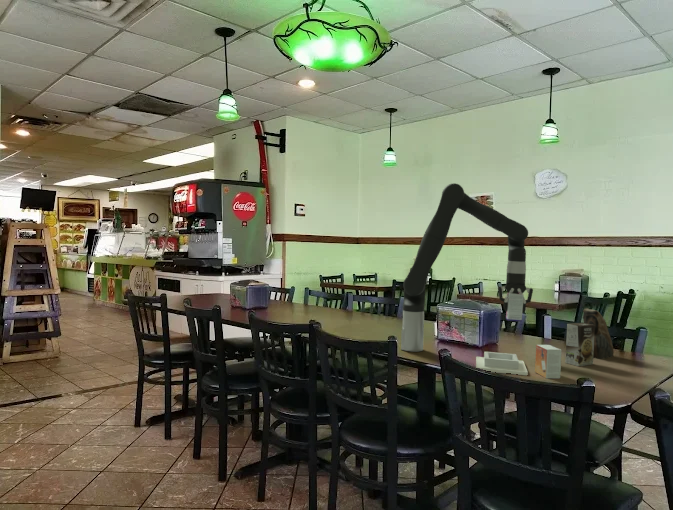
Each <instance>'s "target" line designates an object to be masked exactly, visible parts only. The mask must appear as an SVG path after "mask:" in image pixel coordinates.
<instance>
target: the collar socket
mask: <svg viewBox="0 0 673 510" xmlns="http://www.w3.org/2000/svg"><path fill="white" fill-rule="evenodd" d="M483 352H484V353H483V356H476V357H475V359H476V360H475V369H476V368H480V369H483V370H486V371H491V372H490V373H495V372H496V373H497V374H506V373H511V374H510V375H516V374H518V375H517V376H519V375H520V376H527V375H529V372H528V369H527V367H526V365H525V362H524V360H519V358H518V356H517V354H516V353H505V352H493V351H483Z"/></svg>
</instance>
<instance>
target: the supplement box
mask: <svg viewBox="0 0 673 510" xmlns="http://www.w3.org/2000/svg"><path fill="white" fill-rule="evenodd" d="M523 296H524V293H523V294H513V293H509V298H508V301H507V311H505V312H506V313H505V314H506V315H505V319H506V320H507V321H509V322H522V321H523V313H522V311H523Z"/></svg>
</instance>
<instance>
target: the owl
mask: <svg viewBox="0 0 673 510" xmlns="http://www.w3.org/2000/svg"><path fill="white" fill-rule="evenodd" d="M582 312H583V316H582V320H583V323H586V324H593V325H595V330H594V353H593V359H599V360H602V359H607V358H612V357H614V346H613V345H614V344H613V341H612V337H611V335H610V332H609V328H608V326H607V321H606V320H605V318H604V317H603V315H602V314H601V313H600V311H598V310H595V309H592V308H591V309H590V308H588V307H586V308H584V309H583V310H582Z"/></svg>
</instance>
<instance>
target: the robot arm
mask: <svg viewBox="0 0 673 510" xmlns="http://www.w3.org/2000/svg"><path fill="white" fill-rule="evenodd" d="M439 200H440V201H439V204H438V207H437V210H436V211H435V214H434V215H433V217H432V219H431V221H430V222H429V224H428V225H427V228H426V230H425V231H424V233H423V236H422V239H421V241H420V244H419V247H418V250H417V254H416V256H415V259H414V263H413V264H412V266H411V268H410V270H409V272H408V274H407V275H406V277H405V279H404V281H403V284H402V285H403V286H402V287H403V290H404V291H403V304H402V327H401V339H400V341H401V343H400V344H401V345H400V350H402V351H407V352H417V353H418V352H422V351H423V350H424V334H425V333H424V332H425V331H424V330H425V329H424V328H425V305H426V304H425V303H426V283H427V279H428V276H429V273H430V270H431V268H432V266H433V265H434V263H435V262H436V260H437V258H438V257H439V255H440V253H441V251H442V248H443V246H444V244H445V242H446V239H447V236H448V233H449V231H450V227H451V223H452V221H453V218H454V216H455V214H456V212H457V210H458V209H459V210H461V211H463V212H465V213H468V215H471V216H472V217H474V218H475V219H477V220H479V221H481V222H482V223H483V224H485V225H487V226H488V227H490V228H492V229H493V230H495V231H498V232H501V233H503V234H505V235H506V236H507V244H508V247H507V248H508V252H507V255H508V256H507V264H506V278H505V279H506V280H505V281H506V282H505V285H504V286H501V285H500V286H498V287H497V289H498V298H499V300H500V301H501V302H502V303H503V310H504V311H505V312H506V311H507V301H508V298H509V293H513V294H523V311H522V314H524V312H526V311H527V310H526V309H527V307H526V305H527V304H528V303H531V302H532V297H533V291H534V290H533V288H532V287H526V274H527V263H526V262H527V261H526V259H527V250H526V248H525V240H526V239H528V236H529V230H528V228H527V227H526V226H525V225H524V224H521V223H520V222H518V221H516V220H514V219H511V218H509V217H507V216H506V215H505V214H503V213H501V212H500V211H497V209H494V208H492V207H491V206H488V205H485V204H483V203H481V202H479V201H477V200H475V199H474V198H472V197H471V196H470V195H468V194H466V192H465V190H464V188H463V186H462V185H460V184H458V183H450V184H447V185H446V186H445V187H444V188H443V189H442V192H441V197H440V199H439ZM504 290H505V291H506V292H507V294H506V295H505V297H503V292H504ZM525 292H526V293H528V295H527V299H526V298H525V297H524V293H525Z"/></svg>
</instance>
